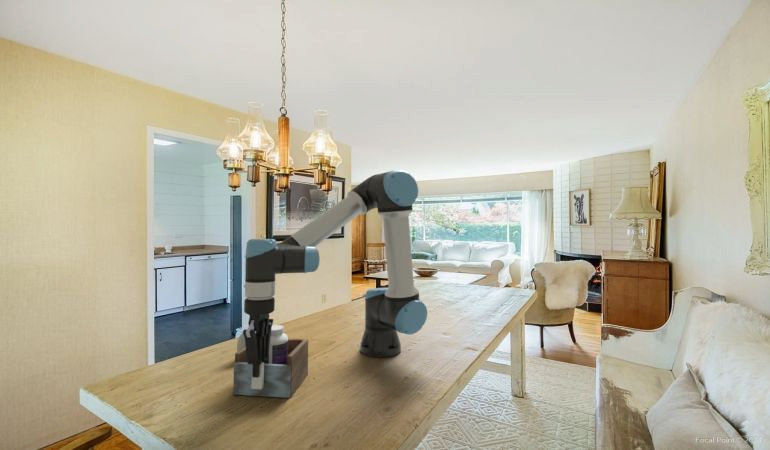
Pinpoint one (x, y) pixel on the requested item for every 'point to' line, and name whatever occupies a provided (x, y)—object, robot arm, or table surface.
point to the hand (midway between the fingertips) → (257, 388)
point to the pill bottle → (278, 346)
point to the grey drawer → (274, 380)
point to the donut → (241, 342)
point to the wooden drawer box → (289, 361)
